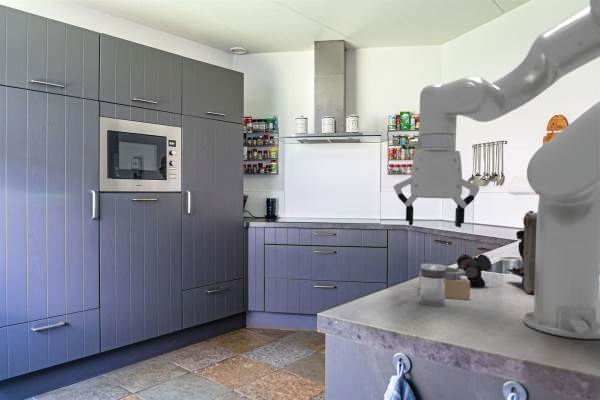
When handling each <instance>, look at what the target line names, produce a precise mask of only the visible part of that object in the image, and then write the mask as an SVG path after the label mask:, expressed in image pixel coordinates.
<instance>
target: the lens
mask: <svg viewBox="0 0 600 400" xmlns="http://www.w3.org/2000/svg"><path fill="white" fill-rule="evenodd" d="M446 267H447V265H443V264H438V263H421V264H420V270H419V275H421V287H420V288H419V290H420V293H419V294H420V295H419V298H420V299H419V303H420V304H422V305H424V306H430V307H443V306H446V298H445V278H446Z"/></svg>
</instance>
